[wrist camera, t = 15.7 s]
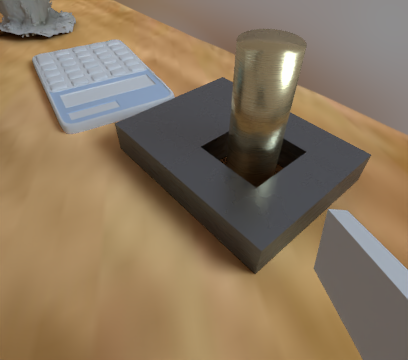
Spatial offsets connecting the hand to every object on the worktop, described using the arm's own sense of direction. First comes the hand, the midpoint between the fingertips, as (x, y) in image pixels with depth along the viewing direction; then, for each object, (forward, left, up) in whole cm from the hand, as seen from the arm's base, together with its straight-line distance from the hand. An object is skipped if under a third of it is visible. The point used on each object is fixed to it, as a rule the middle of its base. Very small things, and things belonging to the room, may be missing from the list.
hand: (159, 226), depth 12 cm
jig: (-8, +13, -10) cm, 18 cm away
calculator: (-31, +11, -10) cm, 34 cm away
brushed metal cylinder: (-6, +13, -10) cm, 17 cm away
